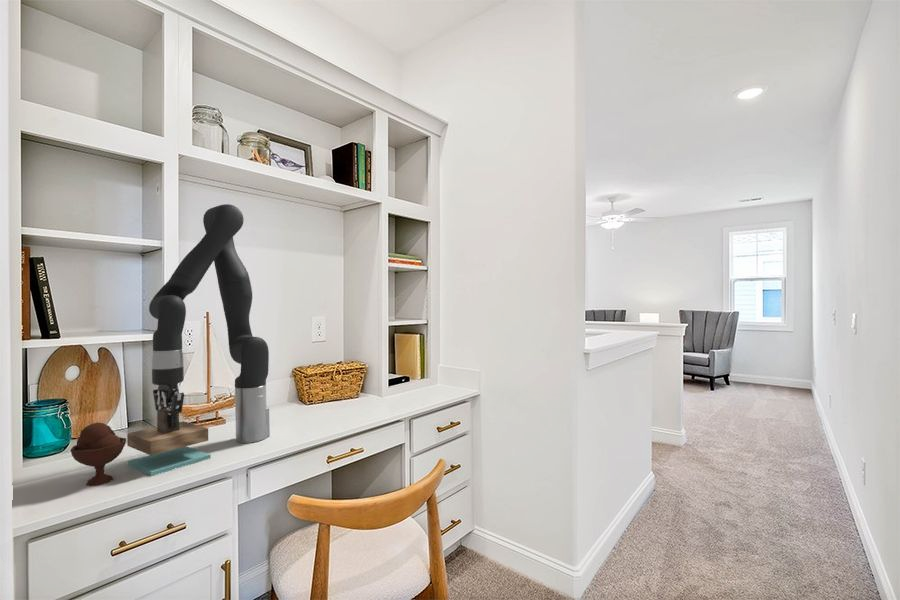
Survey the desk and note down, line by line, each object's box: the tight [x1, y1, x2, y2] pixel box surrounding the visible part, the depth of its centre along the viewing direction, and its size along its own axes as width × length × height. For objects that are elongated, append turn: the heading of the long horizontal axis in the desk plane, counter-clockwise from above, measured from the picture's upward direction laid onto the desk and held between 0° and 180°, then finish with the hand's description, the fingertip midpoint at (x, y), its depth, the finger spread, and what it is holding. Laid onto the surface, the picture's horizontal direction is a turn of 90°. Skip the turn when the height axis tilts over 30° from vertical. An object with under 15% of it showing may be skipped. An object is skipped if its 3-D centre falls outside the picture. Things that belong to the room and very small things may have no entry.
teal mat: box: [127, 446, 211, 477], centre depth 124 cm, size 15×15×1 cm
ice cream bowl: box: [70, 422, 127, 487], centre depth 111 cm, size 11×11×15 cm
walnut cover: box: [126, 407, 209, 456], centre depth 124 cm, size 15×15×10 cm
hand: (168, 426), depth 124 cm, fingers closed on walnut cover, 4 cm apart
